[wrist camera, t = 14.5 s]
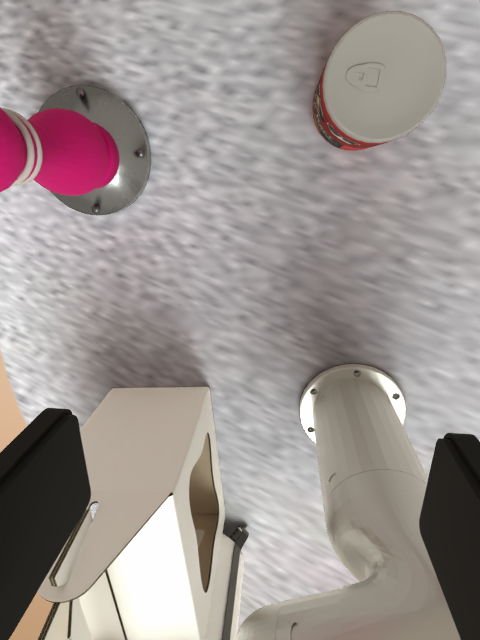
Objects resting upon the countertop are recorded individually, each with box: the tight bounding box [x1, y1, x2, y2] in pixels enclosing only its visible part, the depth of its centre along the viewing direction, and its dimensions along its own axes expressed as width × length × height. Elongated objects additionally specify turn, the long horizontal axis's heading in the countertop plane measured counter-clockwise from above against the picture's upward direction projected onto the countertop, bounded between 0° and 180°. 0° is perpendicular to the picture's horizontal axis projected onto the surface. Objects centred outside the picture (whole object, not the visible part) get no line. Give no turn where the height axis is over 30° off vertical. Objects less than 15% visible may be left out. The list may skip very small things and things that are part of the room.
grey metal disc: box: [39, 85, 151, 215], centre depth 39 cm, size 12×12×2 cm
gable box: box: [38, 387, 225, 640], centre depth 40 cm, size 22×13×28 cm, turn 5°
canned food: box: [313, 11, 446, 150], centre depth 30 cm, size 8×8×11 cm
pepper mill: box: [0, 108, 119, 196], centre depth 29 cm, size 7×7×20 cm
